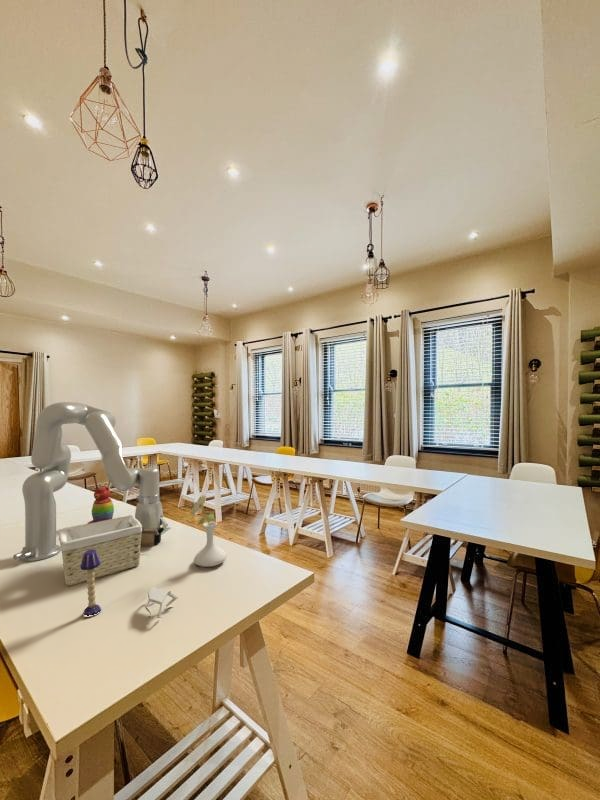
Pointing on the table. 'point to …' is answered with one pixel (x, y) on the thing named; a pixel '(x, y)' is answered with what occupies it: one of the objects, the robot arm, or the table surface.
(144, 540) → the walnut cube
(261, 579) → the table surface
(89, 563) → the toy lamp
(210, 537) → the flower in vase
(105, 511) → the stacking bear
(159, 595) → the white legged frame
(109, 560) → the storage basket
